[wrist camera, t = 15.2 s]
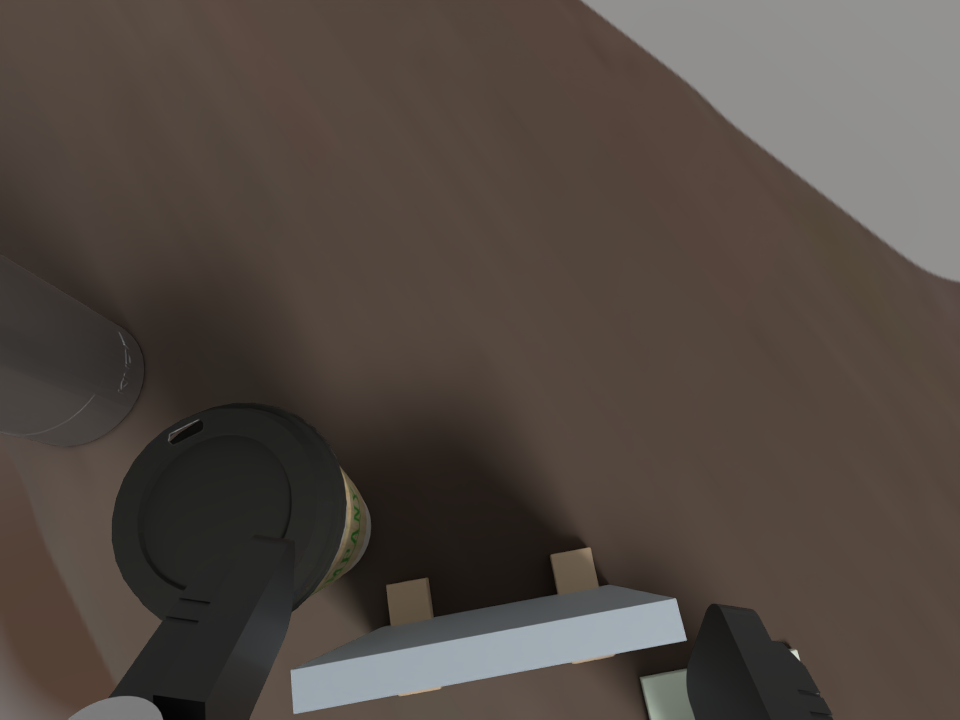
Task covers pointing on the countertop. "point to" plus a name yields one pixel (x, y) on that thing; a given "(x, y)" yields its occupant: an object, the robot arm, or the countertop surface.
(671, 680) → the mat
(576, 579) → the screen
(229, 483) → the coffee cup
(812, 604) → the countertop surface
